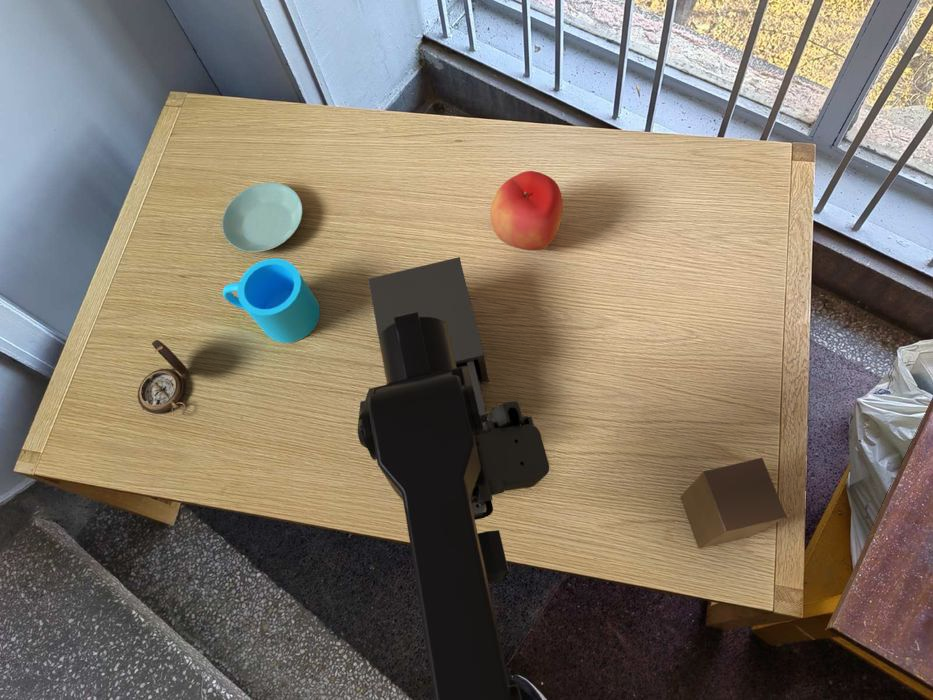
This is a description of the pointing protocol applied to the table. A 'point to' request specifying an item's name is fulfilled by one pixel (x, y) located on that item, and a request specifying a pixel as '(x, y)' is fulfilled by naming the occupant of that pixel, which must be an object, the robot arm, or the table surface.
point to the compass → (164, 384)
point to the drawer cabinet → (432, 305)
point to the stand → (732, 503)
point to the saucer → (262, 217)
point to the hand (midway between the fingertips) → (461, 498)
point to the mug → (276, 300)
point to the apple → (527, 211)
